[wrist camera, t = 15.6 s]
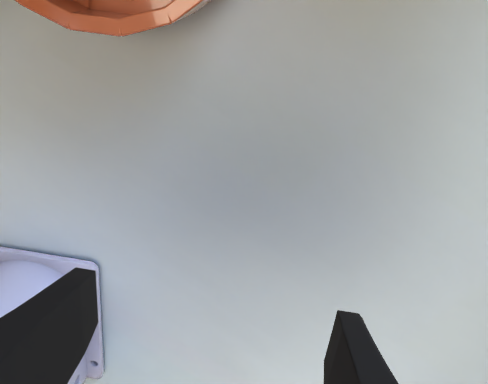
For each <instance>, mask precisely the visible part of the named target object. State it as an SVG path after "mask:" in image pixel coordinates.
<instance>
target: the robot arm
mask: <svg viewBox="0 0 488 384" xmlns="http://www.w3.org/2000/svg"><path fill="white" fill-rule="evenodd" d="M103 373H104V361H103V342H102V322H101V303H100V284H99V269H98V266H97V265H96V264H95V263H94V262H91V261H86V260H80V259H74V258H68V257H61V256H55V255H49V254H43V253H37V252H31V251H25V250H18V249H12V248H6V247H0V384H83V383H84V381H85V379H86V377H87V378H92V379H100V378H101V377H102V375H103ZM324 384H398V382H397V381H396V379H395V377H394V376H393V374H392V372H391V371H390V369H389V367H388V366H387V364H386V362H385V361H384V359H383V357H382V355H381V354H380V352H379V350H378V348H377V346H376V344H375V343H374V341H373V339H372V337H371V335H370V333H369V331H368V329H367V327H366V325H365V323H364V321H363V319H362V317H361V316H360V314H358V313H351V312H345V311H339V310H338V311H337V315H336V319H335V322H334V326H333V330H332V333H331V337H330V341H329V345H328V348H327V352H326V356H325V360H324Z"/></svg>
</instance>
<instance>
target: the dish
mask: <svg viewBox="0 0 488 384" xmlns="http://www.w3.org/2000/svg"><path fill="white" fill-rule="evenodd" d="M15 1H16V2H18V3H19V4H20V5H22V6H24V7H26V8H28V9H30V10H32V11H34V12H36V13H38V14H40V15H42V16H43V17H45V18H47V19H49V20H51V21H53V22H55V23H57V24H59V25H61V26H63V27H65V28H67V29H70V30H75V31H82V32H90V33H97V34H105V35H112V36H127V35H131V34H134V33H138V32H142V31H146V30H150V29H154V28H158V27H162V26H166V25H170V24H172V23H174V22H176V21H179V20H181V19H183V18H185V17H187V16H189V15H191V14H194V13H195V12H196V11H198V10H199V9H200V8H202V7H203V6H205V5H206V4H207V3H209V2H210V1H211V0H15Z"/></svg>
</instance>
